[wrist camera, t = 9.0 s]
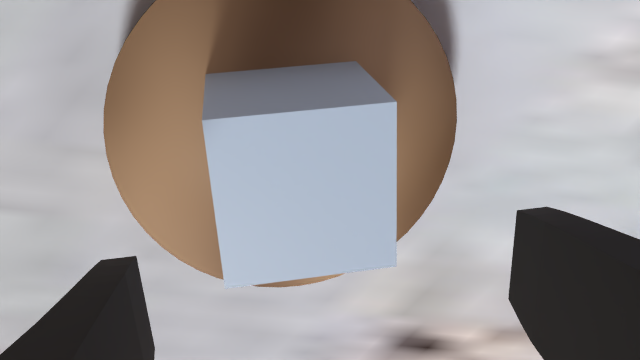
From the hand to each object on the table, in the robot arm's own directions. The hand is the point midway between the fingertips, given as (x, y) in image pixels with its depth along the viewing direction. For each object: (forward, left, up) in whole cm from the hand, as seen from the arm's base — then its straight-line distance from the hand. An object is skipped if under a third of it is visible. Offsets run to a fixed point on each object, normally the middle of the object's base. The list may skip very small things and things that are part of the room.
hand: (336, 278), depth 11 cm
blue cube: (0, 0, -8) cm, 8 cm away
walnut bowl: (0, 0, -10) cm, 10 cm away
